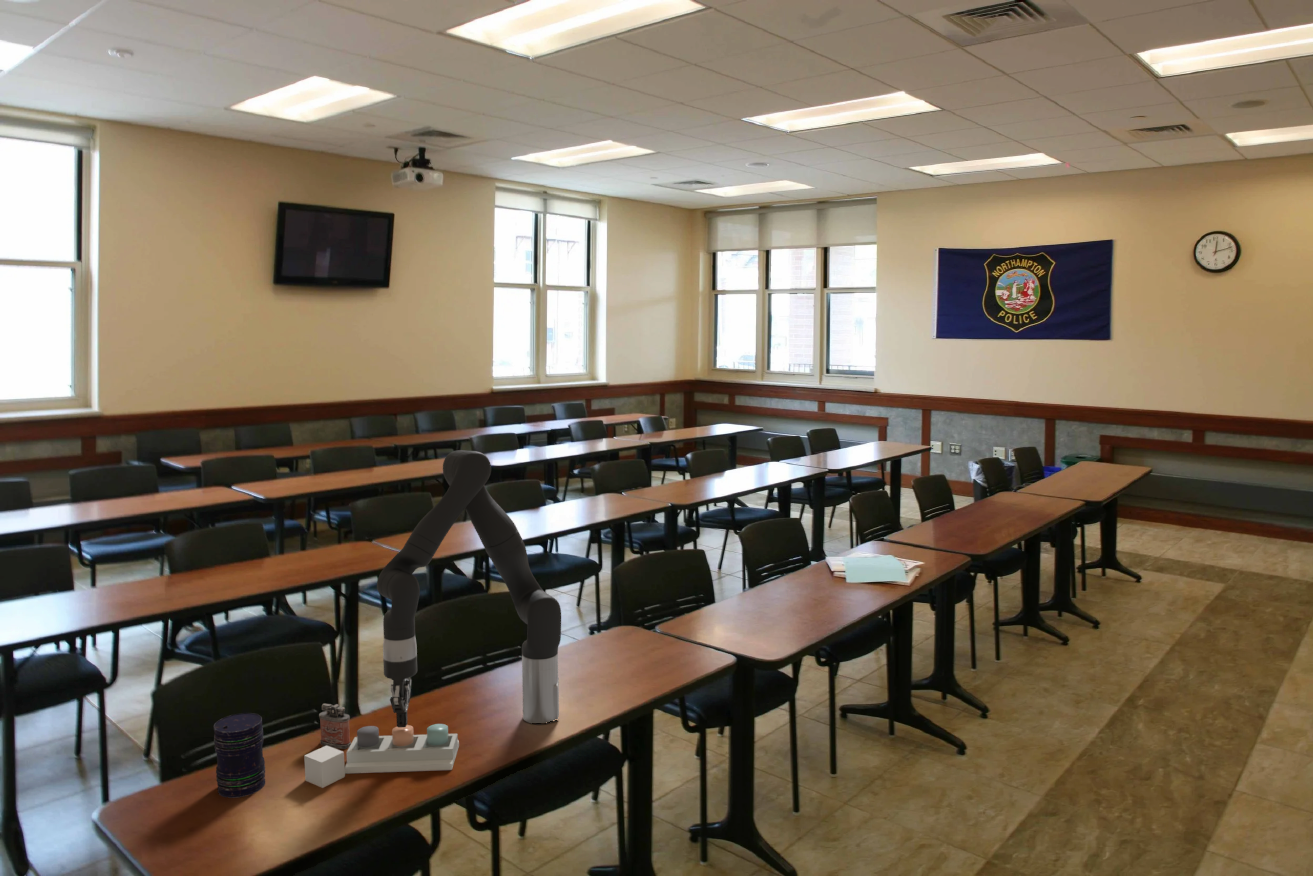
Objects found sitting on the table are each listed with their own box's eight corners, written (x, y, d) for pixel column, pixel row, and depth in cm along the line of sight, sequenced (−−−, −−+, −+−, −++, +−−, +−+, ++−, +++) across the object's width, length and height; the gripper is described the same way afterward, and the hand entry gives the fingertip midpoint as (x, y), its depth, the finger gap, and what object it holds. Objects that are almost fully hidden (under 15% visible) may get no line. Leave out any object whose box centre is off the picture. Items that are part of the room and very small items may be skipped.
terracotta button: (415, 736, 219) (415, 724, 219) (411, 745, 214) (411, 733, 214) (394, 737, 219) (394, 725, 218) (390, 746, 214) (390, 734, 213)
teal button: (449, 735, 220) (449, 723, 219) (446, 744, 215) (446, 732, 214) (429, 736, 219) (428, 724, 219) (425, 745, 214) (425, 733, 214)
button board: (459, 746, 224) (458, 729, 223) (451, 770, 212) (451, 753, 211) (357, 749, 222) (357, 733, 221) (344, 773, 210) (344, 756, 210)
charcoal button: (381, 737, 218) (380, 725, 218) (376, 747, 214) (376, 734, 213) (360, 738, 218) (359, 726, 218) (355, 747, 213) (354, 735, 213)
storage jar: (249, 771, 211) (246, 709, 209) (275, 783, 205) (271, 719, 204) (207, 789, 203) (203, 724, 201) (233, 803, 197) (229, 736, 195)
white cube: (322, 788, 204) (321, 762, 203) (305, 781, 207) (304, 755, 206) (345, 777, 209) (344, 751, 208) (327, 770, 212) (326, 745, 211)
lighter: (353, 744, 225) (352, 704, 224) (345, 750, 222) (343, 710, 220) (326, 739, 227) (324, 700, 226) (317, 745, 224) (315, 705, 223)
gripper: (411, 664, 207) (413, 738, 210) (421, 644, 221) (423, 713, 223) (377, 665, 207) (379, 739, 209) (389, 645, 220) (391, 714, 222)
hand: (402, 725), depth 216 cm, fingers closed
